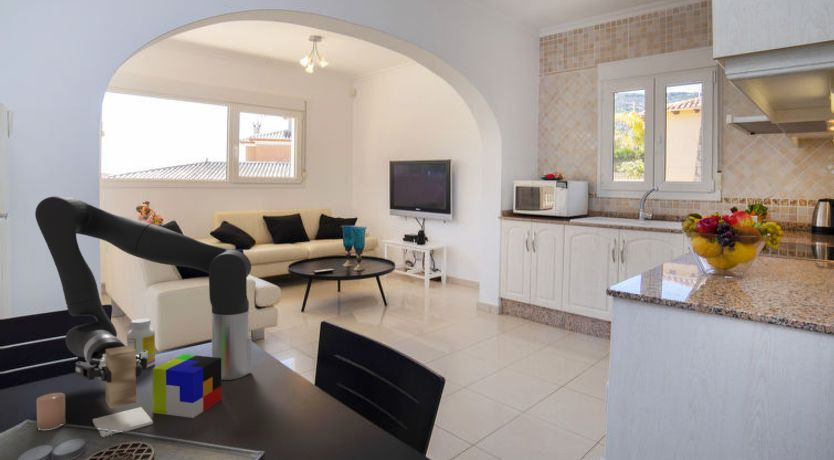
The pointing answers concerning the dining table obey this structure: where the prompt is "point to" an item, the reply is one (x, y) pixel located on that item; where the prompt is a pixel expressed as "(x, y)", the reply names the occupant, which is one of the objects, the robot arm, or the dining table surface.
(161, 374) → the puzzle toy
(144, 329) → the supplement bottle
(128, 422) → the coaster
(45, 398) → the peach short upright block
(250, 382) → the dining table surface
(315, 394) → the dining table surface
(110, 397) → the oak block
